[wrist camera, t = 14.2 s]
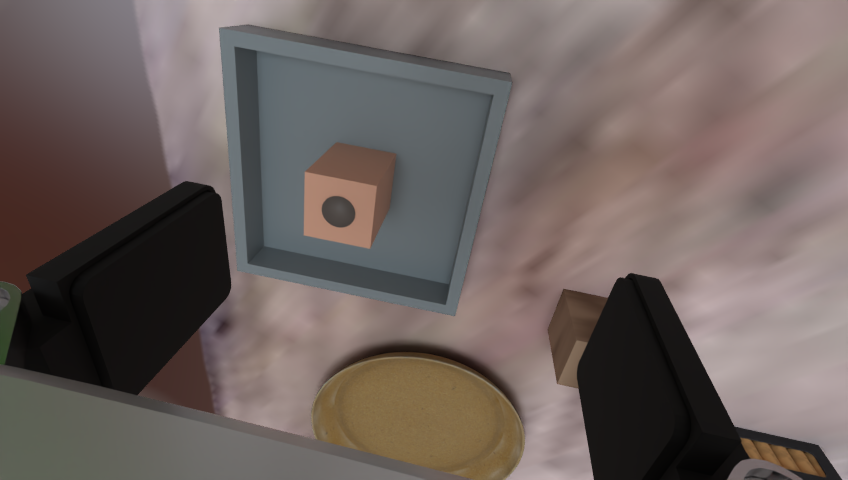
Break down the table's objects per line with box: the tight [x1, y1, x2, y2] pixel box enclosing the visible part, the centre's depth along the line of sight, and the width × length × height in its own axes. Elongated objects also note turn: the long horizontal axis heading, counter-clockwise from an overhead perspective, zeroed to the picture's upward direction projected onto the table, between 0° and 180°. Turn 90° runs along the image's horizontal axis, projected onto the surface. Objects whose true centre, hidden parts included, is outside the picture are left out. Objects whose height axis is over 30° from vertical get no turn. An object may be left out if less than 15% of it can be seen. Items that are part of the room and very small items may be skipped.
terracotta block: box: [304, 142, 396, 249], centre depth 34 cm, size 5×5×7 cm
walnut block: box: [548, 289, 608, 388], centre depth 38 cm, size 5×5×7 cm
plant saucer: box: [311, 352, 525, 480], centre depth 50 cm, size 24×24×3 cm
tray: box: [219, 25, 512, 316], centre depth 36 cm, size 20×20×4 cm
